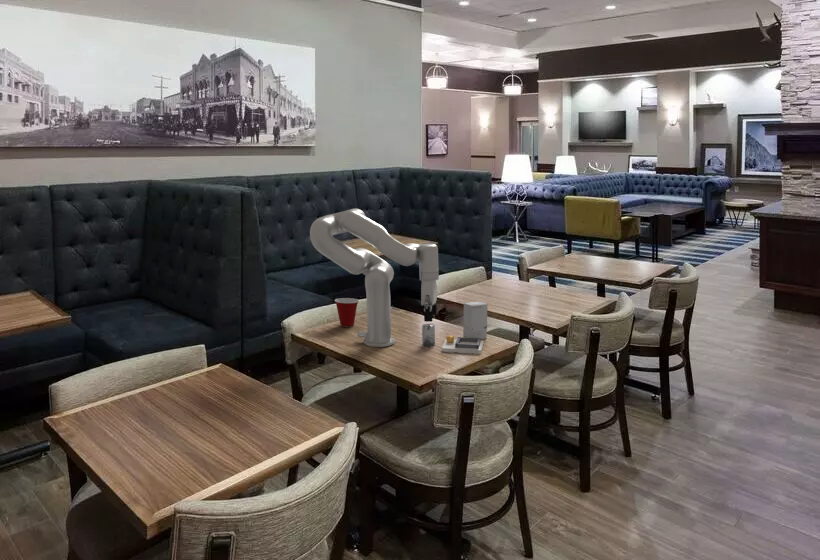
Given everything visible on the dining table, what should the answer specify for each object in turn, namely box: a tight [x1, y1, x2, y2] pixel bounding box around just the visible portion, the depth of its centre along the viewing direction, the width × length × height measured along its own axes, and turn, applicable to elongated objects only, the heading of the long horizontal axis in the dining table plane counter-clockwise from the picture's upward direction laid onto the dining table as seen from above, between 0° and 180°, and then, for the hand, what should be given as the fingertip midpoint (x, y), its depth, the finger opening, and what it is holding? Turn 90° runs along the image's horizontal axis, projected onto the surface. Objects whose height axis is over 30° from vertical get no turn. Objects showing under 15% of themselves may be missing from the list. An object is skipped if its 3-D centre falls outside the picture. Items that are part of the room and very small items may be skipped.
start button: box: [445, 334, 455, 343], centre depth 249 cm, size 3×3×2 cm
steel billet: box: [421, 323, 436, 348], centre depth 251 cm, size 5×5×8 cm
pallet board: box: [441, 336, 484, 355], centre depth 247 cm, size 15×12×3 cm
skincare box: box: [462, 301, 488, 340], centre depth 258 cm, size 8×6×15 cm
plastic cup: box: [334, 297, 360, 327], centre depth 278 cm, size 11×11×12 cm
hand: (430, 318), depth 249 cm, fingers open, 9 cm apart
